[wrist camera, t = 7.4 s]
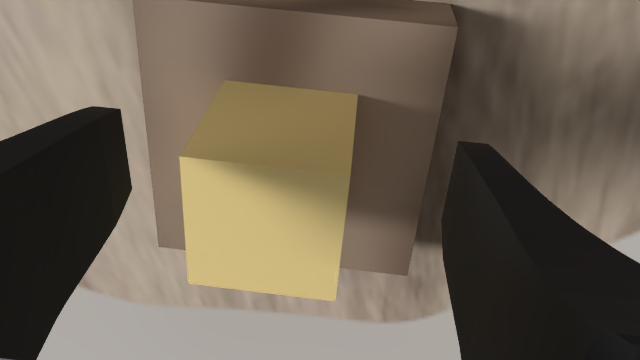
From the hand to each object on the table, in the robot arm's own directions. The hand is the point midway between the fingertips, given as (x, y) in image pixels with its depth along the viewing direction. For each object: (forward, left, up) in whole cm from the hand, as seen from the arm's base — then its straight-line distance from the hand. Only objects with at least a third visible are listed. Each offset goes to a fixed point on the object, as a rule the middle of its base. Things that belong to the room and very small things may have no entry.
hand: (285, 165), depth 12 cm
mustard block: (+1, +3, -7) cm, 8 cm away
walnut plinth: (+1, +4, -9) cm, 10 cm away
